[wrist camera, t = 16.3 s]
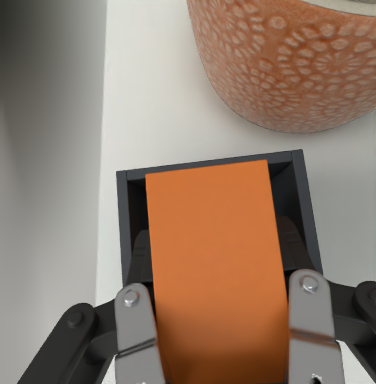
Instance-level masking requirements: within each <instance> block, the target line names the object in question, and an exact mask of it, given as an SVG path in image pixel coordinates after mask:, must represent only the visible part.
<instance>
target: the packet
mask: <svg viewBox="0 0 376 384" xmlns="http://www.w3.org/2000/svg"><path fill="white" fill-rule="evenodd" d="M145 178H146V191H147V204H148V217H149V230H150V243H151V256H152V269H153V282H154V295H155V308H156V321H157V328H158V333H159V337H160V342H161V346H162V350H163V353H164V355H165V357H166V360H167V362H168V364H169V367H170V371H171V374H172V378H173V381H174V384H262V383H283V373H284V358H285V352H286V345H287V324H288V299H287V292H286V285H285V279H284V272H283V265H282V258H281V251H280V245H279V238H278V231H277V224H276V217H275V211H274V204H273V197H272V190H271V183H270V177H269V170H268V163H267V160H257V161H249V162H241V163H232V164H224V165H216V166H208V167H199V168H191V169H183V170H175V171H166V172H158V173H150V174H146V175H145Z"/></svg>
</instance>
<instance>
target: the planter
mask: <svg viewBox="0 0 376 384" xmlns="http://www.w3.org/2000/svg"><path fill="white" fill-rule="evenodd" d="M187 5H188V10H189V14H190V19H191V23H192V28H193V32H194V36H195V40H196V44H197V48H198V51H199V55H200V58H201V60H202V63H203V66H204V69H205V71H206V74H207V76H208V78H209V80H210V82H211V84H212V86H213V87H214V89H215V90H216V92H217V93H218V95H219V96H220V97H221V99H222V100H223V101H224V102H225V103H226V104H227V105H228V106H229V107H230V108H231V109H232V110H233V111H235V112H236V113H237V114H239V115H240V116H241V117H243V118H245V119H246V120H248V121H250V122H252V123H254V124H256V125H259V126H261V127H264V128H267V129H271V130H275V131H280V132H287V133H309V132H316V131H322V130H327V129H331V128H334V127H337V126H340V125H343V124H346V123H348V122H350V121H353V120H355V119H357V118H359V117H362V116H364V115H366V114H368V113H370V112H372V111H374V110H376V0H187Z"/></svg>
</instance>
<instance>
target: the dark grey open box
mask: <svg viewBox="0 0 376 384" xmlns="http://www.w3.org/2000/svg"><path fill="white" fill-rule="evenodd" d="M257 160H267V163H268V170H269V177H270V183H271V190H272V197H273V204H274V208H275V210H276V213H277V215H278V217H280V216H287V217H288V218H289V219H291V220H292V221H293V222H294V223H295V225H296V227H297V230H298V232H299V234H300V236H301V238H302V241H303V243H304V245H305V247H306V249H307V251H308V254H309V256H310V258H311V260H312V262H313V265H314V267H315V269H316V270H317V272H318V273H320V274H321V275H322V276H323V270H322V264H321V258H320V252H319V246H318V240H317V234H316V228H315V222H314V216H313V210H312V204H311V198H310V192H309V186H308V179H307V173H306V167H305V161H304V155H303V150H302V149H299V150H292V151H283V152H274V153H266V154H258V155H249V156H241V157H233V158H224V159H216V160H208V161H199V162H191V163H183V164H174V165H166V166H158V167H149V168H141V169H133V170H123V171H116V178H117V195H118V213H119V230H120V247H121V264H122V282H123V288H124V287H125V285H126V281H127V276H128V272H129V267H130V262H131V258H132V253H133V249H134V244H135V239H136V237H137V236H138V235H139V233H140V232H141V230H149V217H148V204H147V191H146V178H145V175H146V174H150V173H158V172H166V171H175V170H183V169H191V168H199V167H208V166H216V165H224V164H232V163H241V162H249V161H257Z"/></svg>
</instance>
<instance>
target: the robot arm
mask: <svg viewBox="0 0 376 384" xmlns="http://www.w3.org/2000/svg"><path fill="white" fill-rule="evenodd" d="M274 211H275V217H276V224H277V231H278V238H279V245H280V251H281V258H282V265H283V272H284V279H285V285H286V292H287V299H288V324H287V345H286V352H285V358H284V373H283V383H262V384H345V378H344V370H343V362H342V354H341V348H340V345H339V343H338V342H337V341H336V340H340V341H343V342H345V343H346V345H347V346H348V347H349V349H350V350H351V351H352V353H353V354H354V355H355V357H356V358H357V359H358V361H359V362H360V363H361V365H362V366H363V367H364V369H365V370H366V371H367V373H368V374H369V375H370V377H371V378H372V379H373V381H374V382H375V383H376V282H375V281H365V282H362V283H360V284H359V285H358V286H357V287H356V288H355V287H350V286H345V285H340V284H336V283H333V282H330V281H328V280H327V279H325V277H324V276H322V275H321V274H320V273H318V272H317V270H316V269H315V267H314V265H313V262H312V260H311V258H310V256H309V254H308V251H307V249H306V247H305V245H304V243H303V241H302V238H301V236H300V234H299V232H298V230H297V227H296V225H295V223H294V222H293V221H292V220H291V219H289V218H288V217H287V216H280V217H278V215H277V213H276V210H275V208H274ZM117 354H118V355H117ZM114 355H116V357H115V378H116V384H174V381H173V378H172V374H171V371H170V367H169V364H168V362H167V360H166V357H165V355H164V353H163V350H162V346H161V342H160V337H159V333H158V328H157V321H156V308H155V295H154V282H153V269H152V256H151V243H150V230H141V232H140V233H139V235H138V236H137V237H136V239H135V244H134V249H133V253H132V258H131V262H130V267H129V272H128V276H127V281H126V285H125V287H124V288H122V289H121V290H120V291H119V292H118V294H117V296H116V298H115V299H113V300H112V301H109V302H107V303H105V304H102V305H100V306H97V307H95V308H93V307H92V306H91V305H90V304H88V303H79V304H76V305H74V306H72V307H70V308H69V309H68V310H67V311H66V312H65V313H64V314H63V315H62V317H61V318H60V320H59V321H58V323H57V324H56V326H55V327H54V329H53V330H52V332H51V333H50V335H49V337H48V338H47V339H46V341H45V342H44V344H43V345H42V347H41V348H40V350H39V351H38V353H37V354H36V356H35V357H34V359H33V360H32V362H31V363H30V365H29V366H28V368H27V369H26V371H25V372H24V374H23V375H22V377H21V378H20V380H19V381H18V383H17V384H101V383H102V381H103V379H104V377H105V374H106V372H107V370H108V368H109V366H110V364H111V361H112V359H113V357H114Z"/></svg>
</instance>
